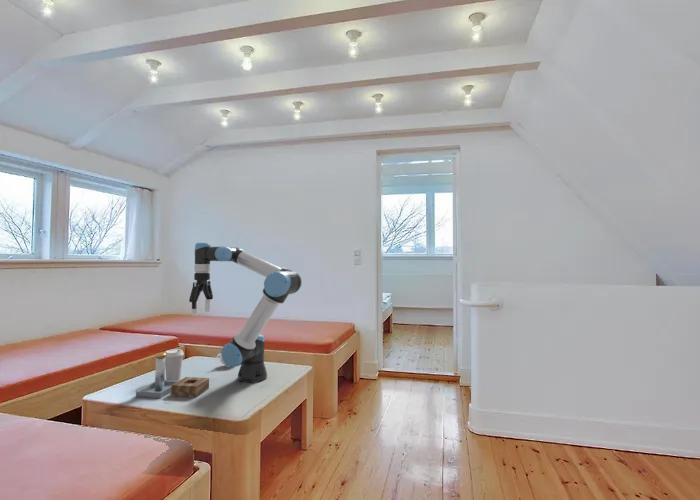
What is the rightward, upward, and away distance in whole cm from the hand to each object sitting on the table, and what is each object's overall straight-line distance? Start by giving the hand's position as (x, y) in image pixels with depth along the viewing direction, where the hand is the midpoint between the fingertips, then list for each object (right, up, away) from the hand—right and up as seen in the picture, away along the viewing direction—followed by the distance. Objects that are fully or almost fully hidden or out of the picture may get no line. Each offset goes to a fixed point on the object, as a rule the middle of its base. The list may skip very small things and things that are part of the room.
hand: (201, 313), depth 188 cm
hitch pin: (-13, -33, -16) cm, 39 cm away
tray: (-13, -34, -17) cm, 40 cm away
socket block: (+2, -34, -17) cm, 38 cm away
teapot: (+7, -36, +27) cm, 45 cm away
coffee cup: (-14, -35, 0) cm, 37 cm away
